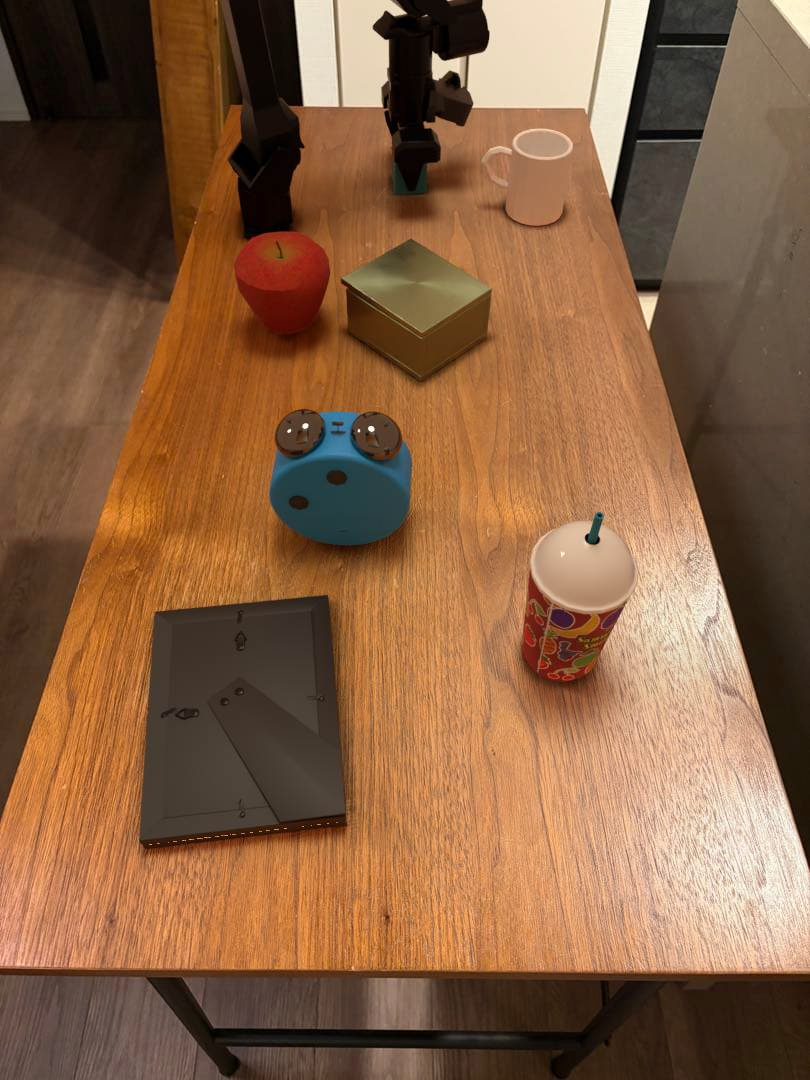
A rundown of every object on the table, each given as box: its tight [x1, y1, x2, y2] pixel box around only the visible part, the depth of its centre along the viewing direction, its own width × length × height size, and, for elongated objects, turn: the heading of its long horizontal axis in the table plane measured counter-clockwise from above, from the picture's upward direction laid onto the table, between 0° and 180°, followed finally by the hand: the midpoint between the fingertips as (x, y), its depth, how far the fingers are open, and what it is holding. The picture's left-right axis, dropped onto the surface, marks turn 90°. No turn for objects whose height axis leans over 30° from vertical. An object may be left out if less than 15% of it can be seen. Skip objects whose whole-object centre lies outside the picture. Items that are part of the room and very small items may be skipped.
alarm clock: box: [268, 408, 413, 546], centre depth 80 cm, size 13×6×15 cm, turn 87°
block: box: [391, 153, 428, 195], centre depth 123 cm, size 5×5×5 cm
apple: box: [233, 231, 331, 336], centre depth 100 cm, size 11×11×12 cm
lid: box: [340, 238, 493, 338], centre depth 99 cm, size 13×12×1 cm
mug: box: [481, 127, 574, 227], centre depth 117 cm, size 8×12×10 cm
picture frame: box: [138, 594, 348, 850], centre depth 71 cm, size 16×3×21 cm
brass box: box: [345, 287, 492, 382], centre depth 101 cm, size 13×12×6 cm
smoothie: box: [520, 511, 640, 683], centre depth 69 cm, size 8×8×20 cm
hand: (409, 179), depth 124 cm, fingers open, 6 cm apart
